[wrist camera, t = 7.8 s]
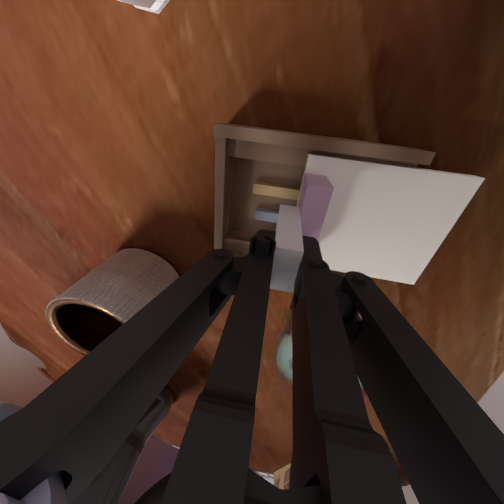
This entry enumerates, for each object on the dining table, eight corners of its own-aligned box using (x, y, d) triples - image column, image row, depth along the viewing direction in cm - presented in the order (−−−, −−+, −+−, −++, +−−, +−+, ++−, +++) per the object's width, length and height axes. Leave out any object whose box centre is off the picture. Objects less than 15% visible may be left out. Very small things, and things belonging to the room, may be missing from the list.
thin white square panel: (284, 256, 21) (283, 285, 18) (308, 153, 16) (313, 161, 13) (409, 278, 20) (435, 313, 17) (475, 175, 15) (534, 192, 12)
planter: (102, 278, 31) (37, 332, 23) (126, 229, 26) (52, 277, 18) (166, 317, 34) (126, 378, 26) (199, 279, 28) (163, 342, 20)
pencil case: (223, 242, 25) (212, 261, 21) (227, 123, 18) (213, 123, 15) (354, 266, 24) (364, 289, 20) (408, 146, 17) (436, 152, 14)
